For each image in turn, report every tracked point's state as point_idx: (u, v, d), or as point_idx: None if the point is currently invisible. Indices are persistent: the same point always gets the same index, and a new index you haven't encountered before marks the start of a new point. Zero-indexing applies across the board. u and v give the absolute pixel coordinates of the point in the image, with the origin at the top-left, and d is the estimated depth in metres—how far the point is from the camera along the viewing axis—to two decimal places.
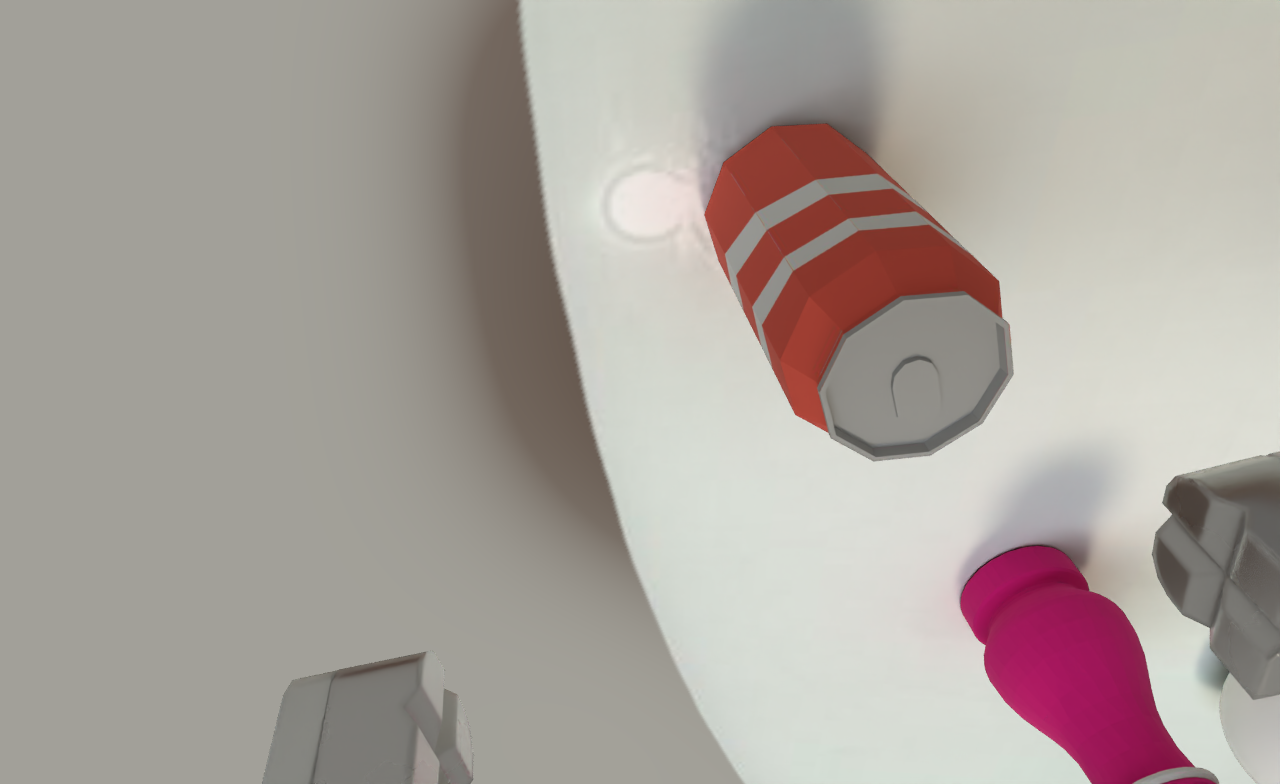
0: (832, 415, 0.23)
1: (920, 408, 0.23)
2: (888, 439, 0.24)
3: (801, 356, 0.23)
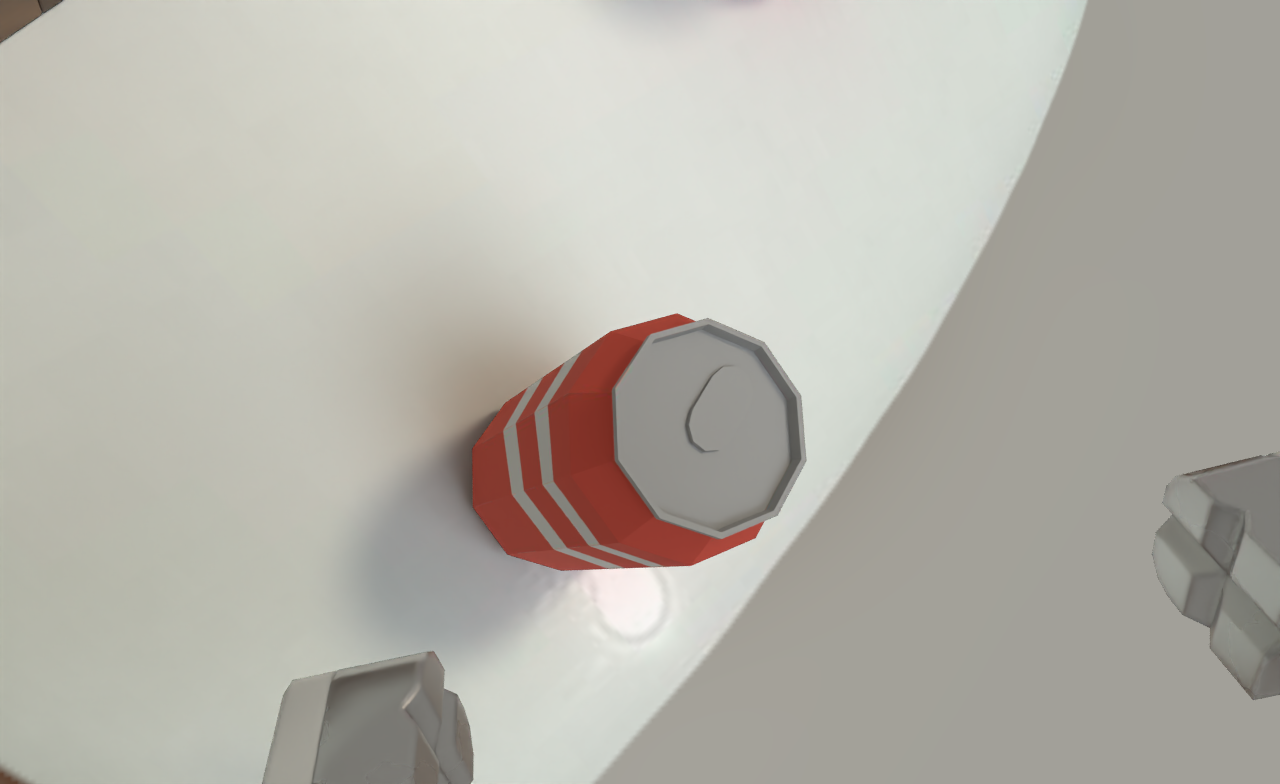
0: (783, 471, 0.22)
1: (729, 391, 0.21)
2: (771, 392, 0.22)
3: (746, 533, 0.22)
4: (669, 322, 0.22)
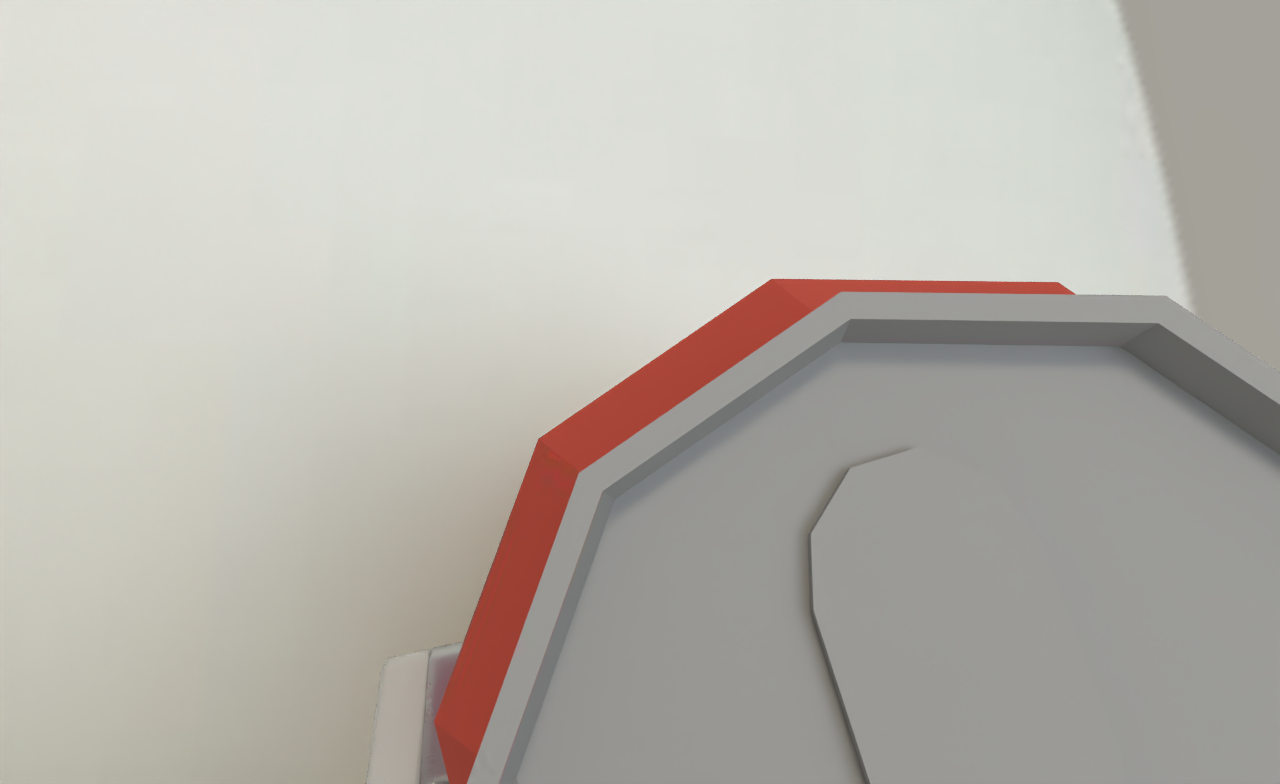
0: None
1: (927, 588, 0.04)
2: (1041, 392, 0.05)
3: None
4: (532, 526, 0.06)
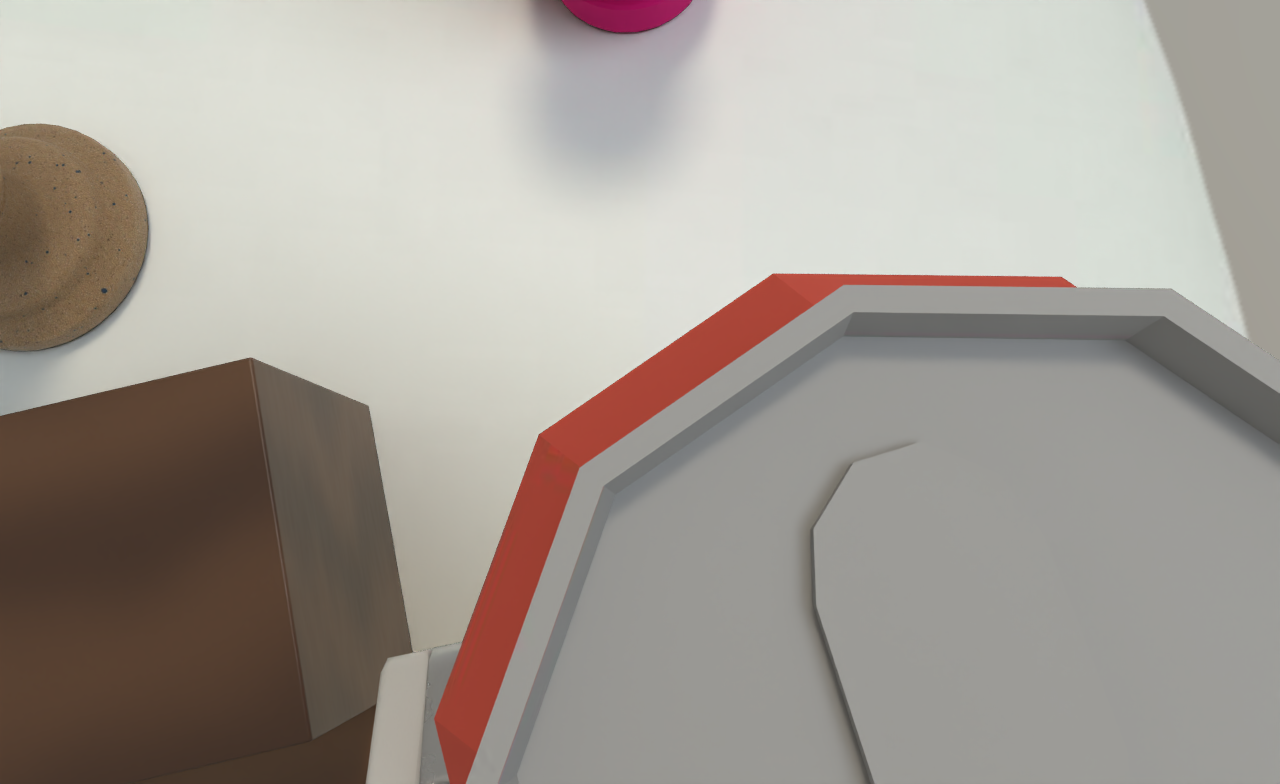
0: None
1: (930, 584, 0.04)
2: (1048, 384, 0.05)
3: None
4: (532, 523, 0.05)
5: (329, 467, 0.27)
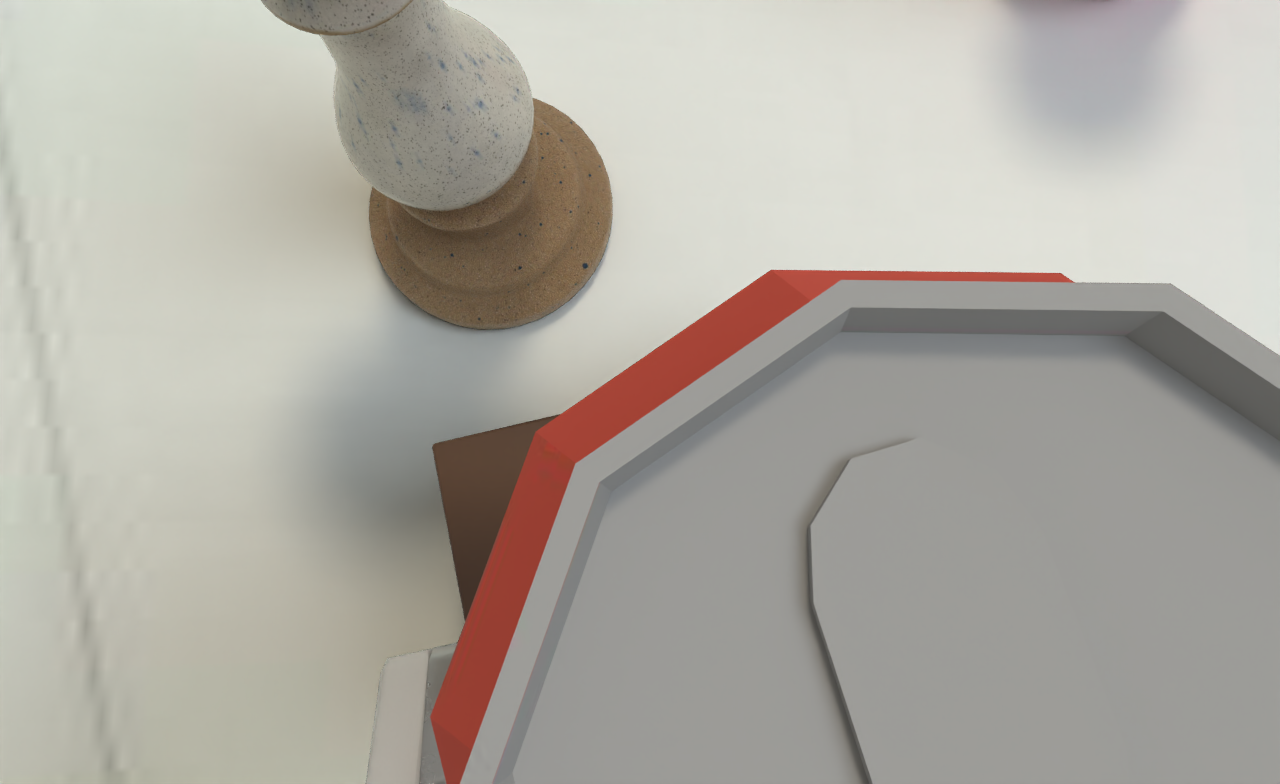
0: None
1: (925, 581, 0.04)
2: (1045, 380, 0.05)
3: None
4: (529, 520, 0.05)
5: None
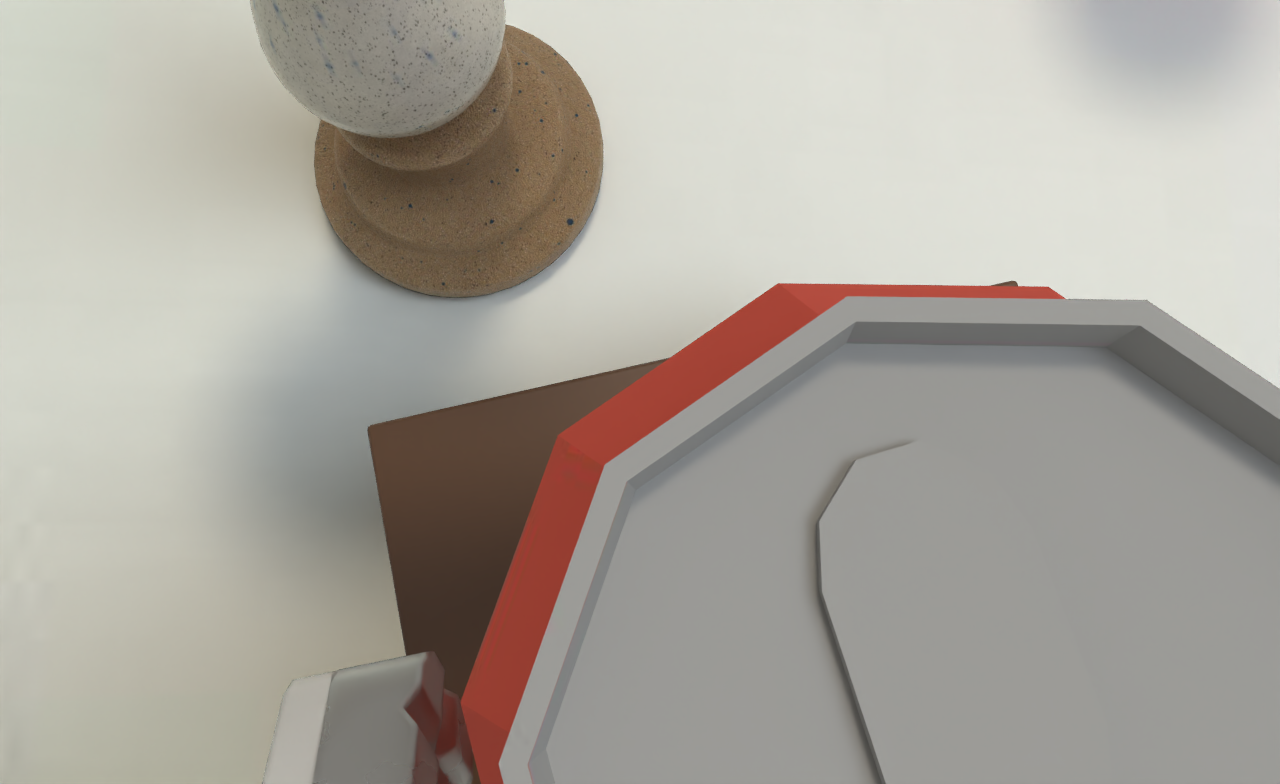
0: None
1: (926, 570, 0.05)
2: (1034, 388, 0.05)
3: None
4: (554, 517, 0.06)
5: None
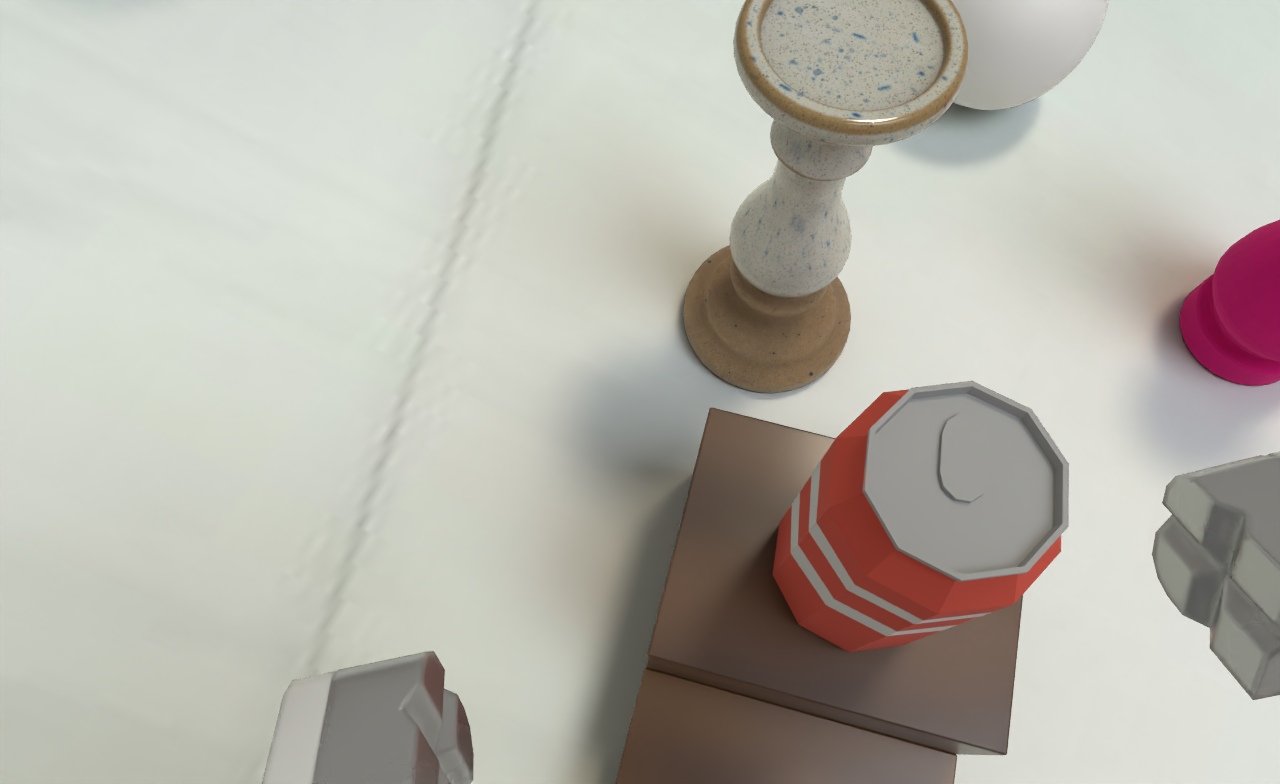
0: (1052, 482, 0.22)
1: (964, 438, 0.22)
2: (1002, 419, 0.23)
3: (1049, 553, 0.22)
4: (880, 405, 0.24)
5: None
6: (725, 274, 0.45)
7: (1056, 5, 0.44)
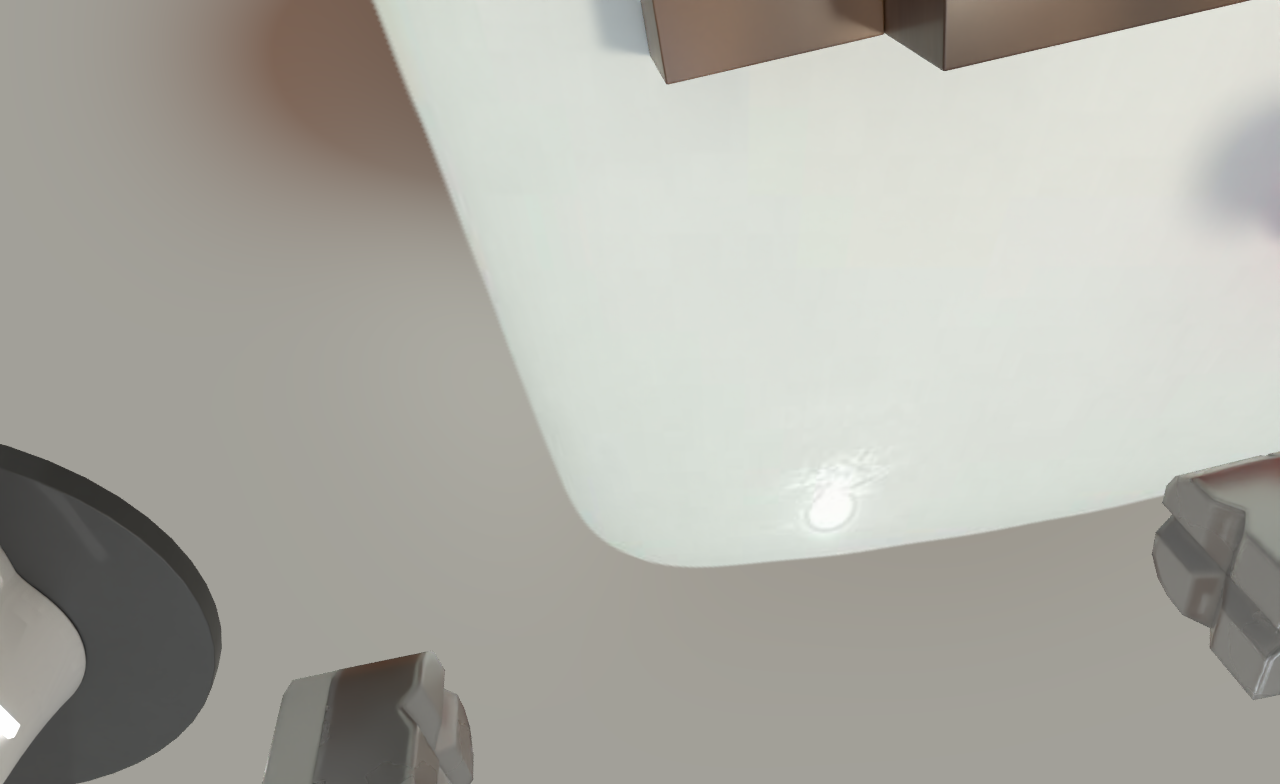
0: None
1: None
2: None
3: None
4: None
5: None
6: None
7: None
